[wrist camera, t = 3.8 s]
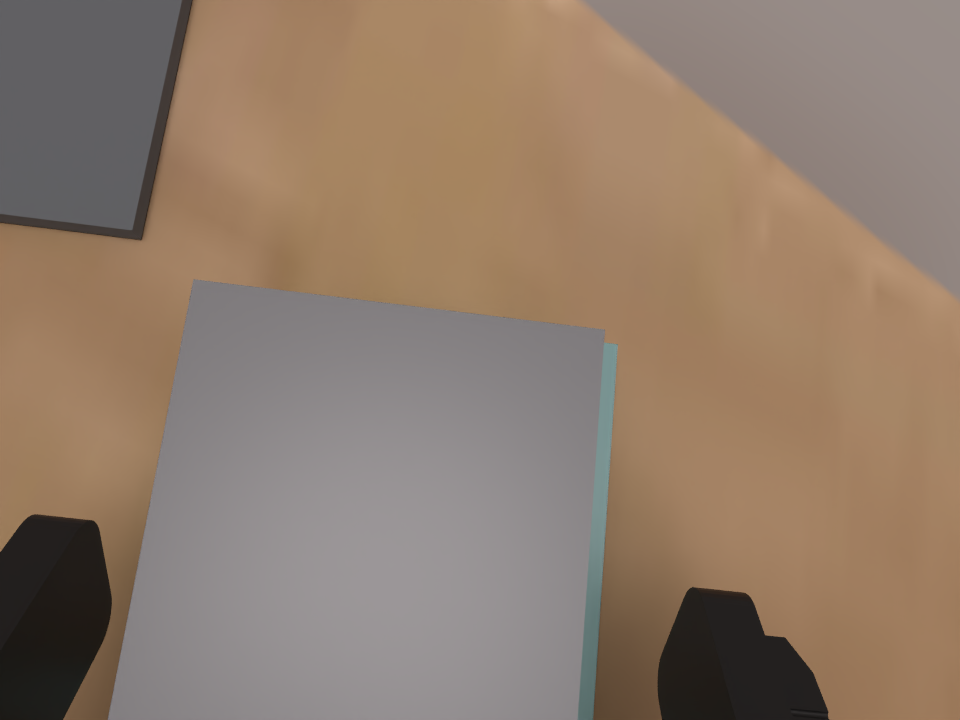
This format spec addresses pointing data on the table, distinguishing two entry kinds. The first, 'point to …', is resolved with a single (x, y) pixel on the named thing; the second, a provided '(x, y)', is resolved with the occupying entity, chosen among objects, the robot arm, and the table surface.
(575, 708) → the plug
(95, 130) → the plate
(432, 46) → the table surface
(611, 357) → the collar
